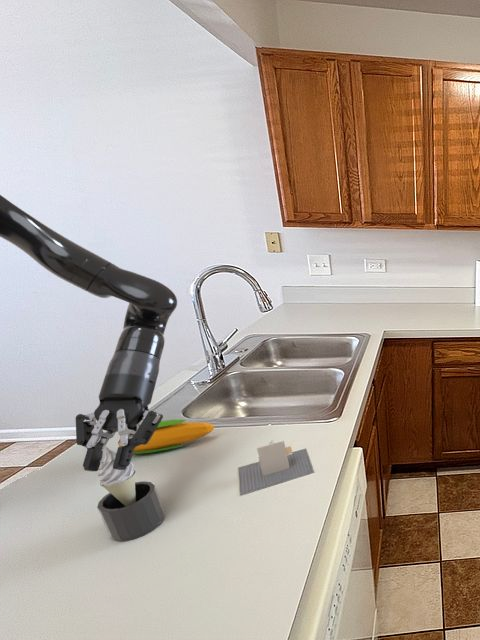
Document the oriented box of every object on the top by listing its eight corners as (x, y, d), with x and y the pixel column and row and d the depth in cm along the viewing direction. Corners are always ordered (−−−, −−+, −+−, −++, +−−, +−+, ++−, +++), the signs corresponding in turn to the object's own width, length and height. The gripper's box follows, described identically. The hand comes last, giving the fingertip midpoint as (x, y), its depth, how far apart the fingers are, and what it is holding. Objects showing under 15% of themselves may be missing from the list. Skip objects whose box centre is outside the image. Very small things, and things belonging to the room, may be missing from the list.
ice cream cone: (155, 507, 76) (126, 442, 70) (123, 525, 72) (89, 457, 66) (144, 498, 79) (114, 434, 73) (112, 515, 75) (78, 449, 69)
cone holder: (100, 545, 72) (86, 515, 69) (126, 513, 79) (114, 485, 77) (152, 536, 74) (140, 507, 71) (172, 506, 81) (162, 478, 79)
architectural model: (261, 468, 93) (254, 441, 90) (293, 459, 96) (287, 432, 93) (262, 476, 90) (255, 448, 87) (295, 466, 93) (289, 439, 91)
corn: (119, 421, 98) (213, 406, 105) (130, 446, 101) (220, 429, 108) (107, 438, 92) (208, 420, 99) (119, 464, 95) (216, 445, 102)
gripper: (74, 373, 72) (40, 469, 66) (157, 370, 73) (132, 464, 67) (107, 386, 79) (79, 475, 72) (182, 383, 80) (162, 470, 74)
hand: (105, 469), depth 70 cm, fingers closed on ice cream cone, 4 cm apart
